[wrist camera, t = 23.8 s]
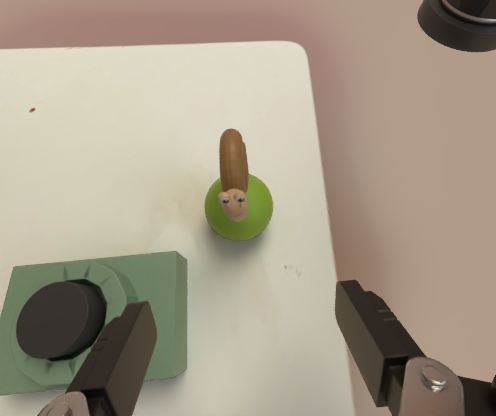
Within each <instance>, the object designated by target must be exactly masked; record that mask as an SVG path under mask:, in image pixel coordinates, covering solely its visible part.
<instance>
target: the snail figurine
mask: <svg viewBox="0 0 496 416" xmlns="http://www.w3.org/2000/svg"><path fill="white" fill-rule="evenodd" d="M219 153H220V178H219V179H218V180H217V181H216V182H215V183H214V184H213V185H212V186H211V187H210V189H209V191H208V193H207V196H206V199H205V214H206V218H207V220H208V222H209V224H210V226H211V227H212V228H213V229H214V230H215V231H216V232H217V233H218V234H219V235H221V236H223V237H225V238H227V239H230V240H236V241H242V240H248V239H251V238H253V237H255V236H257V235H258V234H260V233H261V232H262V231H263V230H264V229H265V228H266V226H267V225H268V223H269V221H270V219H271V216H272V212H273V201H272V197H271V194H270V192H269V190H268V188H267V187H266V185H265V184H264V183H263V182H262V181H261V180H260V179H258V178H257V177H255V176H253V175H251V174H248V163H247V155H246V148H245V144H244V142H243V141H242V136H241V134H240V133H239V132H238V131H237V130H235V129H228V130H226V131H225V132H224V133H223V134H222V136H221V139H220V151H219Z"/></svg>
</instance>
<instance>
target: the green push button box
mask: <svg viewBox="0 0 496 416" xmlns="http://www.w3.org/2000/svg"><path fill="white" fill-rule="evenodd" d="M60 281H66V282H72V283H78V284H84V285H88V286H91V287H93V288H94V289H96V290H97V291H98V292H99V294H100V295H101V297H102V299H103V302H104V306H105V315H104V320H103V323H102V326H101V328H100V330H99V332H98V334H97V335H96V336H95V338H94V339H93V340H92V341H91V342H90V343H89V344H88V345H87V346H86V347H84V348H83V349H81V350H79V351H77V352H75V353H71V354H67V355H62V356H57V357H53V358H47V359H38V358H34V357H31V356H29V355H27V354H26V353H25V352H24V351H23V350H22V349H21V348H20V346H19V344H18V341H17V337H16V325H17V320H18V317H19V314H20V312H21V310H22V308H23V306H24V305H25V303H26V302H27V301H28V299H29V298H30V297H31V296H32V295H33V294H34V293H35V292H37V291H38V290H39V289H41V288H42V287H44V286H46V285H48V284H51V283H54V282H60ZM140 301H148V302H149V303H150V306H151V310H152V313H153V317H154V320H155V324H156V327H157V341H156V345H155V348H154V351H153V354H152V357H151V360H150V363H149V366H148V369H147V372H146V375H145V378H144V381H152V380H162V379H172V378H175V377H176V376H177V375H179V374H180V373H181V372H182V371H184V370H185V369H186V368H187V259H185V258H184V257H183V256H182V255H180V254H179V253H178V252H177V251H172V252H161V253H151V254H140V255H130V256H119V257H109V258H98V259H88V260H78V261H67V262H57V263H46V264H36V265H25V266H15V267H13V271H12V275H11V279H10V283H9V286H8V290H7V294H6V298H5V302H4V306H3V309H2V313H1V317H0V395H10V394H20V393H31V392H41V391H51V390H61V389H68V387H69V386H70V384H71V382H72V380H73V379H74V377H75V375H76V374H77V372H78V370H79V369H80V367H81V365H82V364H83V362H84V360H85V359H86V357H87V355H88V354H89V352H91V348H92V347H93V345H94V343H95V342H97V338H98V337H99V335H100V333H101V332H102V330H103V328H104V327H105V326H106V325H107V324H108V323H109V322H110V321H111V320H112V319H113V318H114V317H120V316H121V314H122V312H123V311H124V309H125V307H126V305H127V304H128V303H130V302H140Z"/></svg>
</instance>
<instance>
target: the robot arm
mask: <svg viewBox="0 0 496 416" xmlns="http://www.w3.org/2000/svg"><path fill="white" fill-rule="evenodd" d="M439 2H440V4H441V6H442V7H443V8H444V9H445V10H446V11H447V12H448V13H449V14H451V15H452V16H454V17H456V18H458V19H460V20H462V21H465V22H468V23H471V24H476V25H483V26H496V0H439ZM335 315H336V320H337V323H338V325H339V328H340V330H341V332H342V334H343V336H344V338H345V340H346V343H347V345H348V347H349V349H350V351H351V353H352V355H353V358H354V360H355V362H356V364H357V366H358V368H359V370H360V373H361V375H362V377H363V379H364V381H365V383H366V385H367V388H368V390H369V392H370V394H371V396H372V398H373V400H374V402H375V405H376V407H384V406H388V407H389V410H390V412H391V413H392V416H496V375H495V377H494V379H493V381H492V383H490V382H484V381H480V380H475V379H470V378H464V377H460V376H456V374H454V373H453V371H452V370H450V369H449V368H448V367H447V366H445V365H444V364H442V363H440V362H439V361H436V360H434V359H431V358H428V357H426V356H425V355H424V353H423V352H422V351H421V349H420V348H419V347H418V345H417V344H416V343H415V341H414V340H413V339H412V337H411V336H410V335H409V333H408V332H407V331H406V329H405V328H404V327H403V326H402V324H401V323H400V322H399V321H398V320H397V318H396V316H395V315H394V314H393V312H391V310H390V308H389V307H388V306H387V305H386V303H385V302H384V300H383V299H382V298H380V297H379V296H377V295H376V294H374V293H373V292H372V291H367V292H365V291H364V290H363V289H362V287H361V286H360V284H359V283H358V281H356V280H348V281H338V282H337V284H336V299H335ZM156 341H157V327H156V324H155V320H154V317H153V313H152V310H151V306H150V303H149V302H148V301H140V302H130V303H128V304H127V305H126V307H125V309H124V311H123V312H122V314H121V316H120V317H114V318H113V319H112V320H111V321H110V322H109V323H108V324H107V325H106V326H105V327H104V328H103V330H102V332H101V333H100V335H99V337H98V338H97V342H95V343H94V345H93V347H92V348H91V352H89V354H88V355H87V357H86V359H85V360H84V362H83V364H82V365H81V367H80V369H79V370H78V372H77V374H76V375H75V377H74V379H73V380H72V382H71V384H70V386H69V387H68V389H67V391H66V392H65V394H63V395H61V396H59V397H57V398H56V399H54V400H53V401H51V402H50V403H49V404H48V405H46V406H45V407H44V408H43V409H42V410H41V412H40V413H39V414H38V415H37V416H132V414H133V411H134V408H135V405H136V402H137V399H138V396H139V393H140V390H141V387H142V384H143V381H144V378H145V375H146V372H147V369H148V366H149V363H150V360H151V357H152V354H153V351H154V348H155V345H156Z"/></svg>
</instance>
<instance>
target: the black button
mask: <svg viewBox="0 0 496 416" xmlns="http://www.w3.org/2000/svg"><path fill="white" fill-rule="evenodd" d="M104 315H105V306H104V302H103V299H102V297H101V295H100V294H99V292H98V291H97V290H96V289H94V288H93V287H91V286H88V285H84V284H78V283H72V282H66V281H60V282H54V283H51V284H48V285H46V286H44V287H42V288H41V289H39V290H38V291H37V292H35V293H34V294H33V295H32V296H31V297H30V298H29V299H28V301H27V302H26V303H25V305H24V306H23V308H22V310H21V312H20V314H19V317H18V320H17V325H16V337H17V341H18V344H19V346H20V348H21V349H22V350H23V351H24V352H25V353H26V354H27V355H29V356H31V357H34V358H38V359H47V358H53V357H57V356H62V355H67V354H71V353H75V352H77V351H79V350H81V349H83V348H84V347H86V346H87V345H88V344H89V343H90V342H91V341H92V340H93V339H94V338H95V336H96V335H97V334H98V332H99V330H100V328H101V326H102V323H103V320H104Z"/></svg>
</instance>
